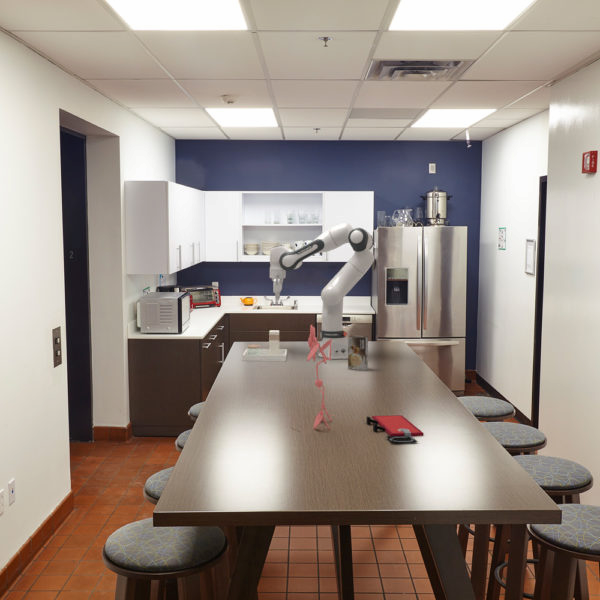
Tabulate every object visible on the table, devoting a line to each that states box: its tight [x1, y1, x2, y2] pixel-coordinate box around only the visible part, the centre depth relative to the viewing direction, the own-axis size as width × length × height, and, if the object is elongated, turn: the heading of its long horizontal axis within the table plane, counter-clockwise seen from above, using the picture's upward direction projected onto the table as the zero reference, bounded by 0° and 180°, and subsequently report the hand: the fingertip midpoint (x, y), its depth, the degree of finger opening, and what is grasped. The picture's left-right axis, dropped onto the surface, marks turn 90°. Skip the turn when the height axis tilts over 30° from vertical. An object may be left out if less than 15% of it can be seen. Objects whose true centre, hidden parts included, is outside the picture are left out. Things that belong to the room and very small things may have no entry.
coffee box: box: [347, 334, 369, 371], centre depth 323 cm, size 9×6×16 cm
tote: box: [242, 348, 288, 362], centre depth 344 cm, size 22×18×4 cm
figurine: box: [291, 324, 336, 433], centre depth 228 cm, size 15×26×35 cm, turn 173°
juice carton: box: [268, 329, 280, 355], centre depth 344 cm, size 5×5×14 cm
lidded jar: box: [247, 343, 261, 355], centre depth 342 cm, size 6×6×7 cm
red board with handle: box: [366, 414, 425, 443], centre depth 223 cm, size 30×3×15 cm
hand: (277, 299), depth 365 cm, fingers open, 8 cm apart
